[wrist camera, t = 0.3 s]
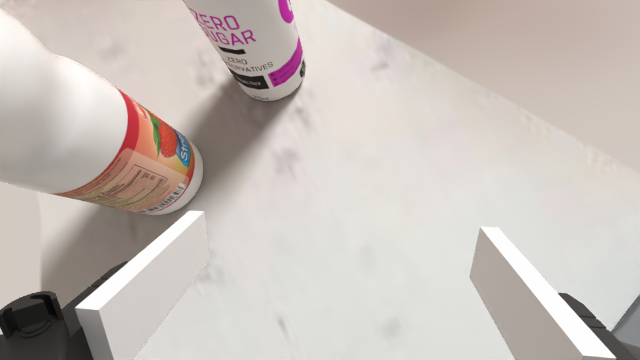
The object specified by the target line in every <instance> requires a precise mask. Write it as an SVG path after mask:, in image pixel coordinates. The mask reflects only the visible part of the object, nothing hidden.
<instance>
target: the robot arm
mask: <svg viewBox="0 0 640 360" xmlns="http://www.w3.org/2000/svg"><path fill="white" fill-rule="evenodd" d="M210 259H211V256H210V249H209V242H208V234H207V227H206V220H205V212H204V211H189V212H187V213H186V214H185V215H184V216H183V217H182V218H180V219H179V220H178V221H177V222H176V223H174V224H173V225H172V226H171V227H170V228H169V229H167V230H166V231H165V232H164V233H163V234H161V235H160V236H159V237H158V238H157V239H155V240H154V241H153V242H152V243H151V244H150V245H148V246H147V247H146V248H145V249H144V250H142V251H141V252H140V253H139V254H138V255H137V256H135V257H134V258H133V259H132V260H131V261H129V262H128V261H125V262H123V263H122V264H120V265H118V266H116V267H114V268H112V269H111V270H109V271H108V272H107V273H106V274H104V275H103V276H102V277H101V278H100V280H99V279H98V280H97V281H96V282H95V283H93V284H92V285H91V287H88V288H87V289H86V290H85V291H83V292H82V293H81V294H80V295H79V296H77V297H76V298H75V299H74V300H72V301H71V302H70V303H69V304H67V305H66V306H65V307H64V308H63V309H61V308H60V305H59V302H58V300H57V297H56V294H55V293H53V292H50V291H42V292H37V293H32V294H29V295H27V296H23V297H21V298H19V299H17V300H15V301H13V302H11V303H9V304H8V305H6V306H5V307H4V308H3V309H1V310H0V328H1V330H2V332H3V335H0V360H133V359H134V358H135V357H136V355H137V354H138V353H139V351H140V350H141V349H142V347H143V346H144V345H145V343H146V342H147V341H148V340H149V338H150V337H151V336H152V334H153V333H154V332H155V330H156V329H157V328H158V327H159V325H160V324H161V323H162V321H163V320H164V319H165V317H166V316H167V315H168V314H169V312H170V311H171V310H172V308H173V307H174V306H175V304H176V303H177V302H178V301H179V299H180V298H181V297H182V295H183V294H184V293H185V291H186V290H187V289H188V288H189V286H190V285H191V284H192V282H193V281H194V280H195V278H196V277H197V276H198V274H199V273H200V272H201V271H202V269H203V268H204V267H205V265H206V264H207V263H208V261H209V260H210ZM470 279H471V281H472V282H473V284H474V286H475V288H476V290H477V291H478V293H479V295H480V297H481V299H482V301H483V302H484V304H485V306H486V308H487V310H488V311H489V313H490V315H491V317H492V319H493V320H494V322H495V324H496V326H497V328H498V329H499V331H500V333H501V335H502V337H503V338H504V340H505V342H506V344H507V346H508V347H509V349H510V351H511V353H512V355H513V356H514V358H515V360H637V359H636V358H635V357H634V356H633V355H632V354H631V353H630V352H629V351H628V350H627V349H626V347H625V346H624V345H623V344H622V343H621V342H620V341H619V340H618V339H617V338H616V337H615V336H614V335H613V334H612V333H611V332H610V331H609V330H606V327H605V326H604V325H603V324H602V323H601V322H600V321H599V320H598V319H596V317H595V316H594V315H593V314H592V313H591V312H590V311H589V310H588V309H587V308H586V307H585V306H584V305H583V304H582V303H580V302H579V301H577V300H576V299H574V298H573V297H571V296H570V295H568V294H566V293H557V292H556V291H555V290H554V289H553V288H552V287H551V286H550V285H549V283H548V282H547V281H546V280H545V279H544V278H543V277H542V276H541V275H540V274H539V272H538V271H537V270H536V269H535V268H534V267H533V266H532V265H531V264H530V263H529V261H528V260H527V259H526V258H525V257H524V256H523V255H522V254H521V253H520V252H519V250H518V249H517V248H516V247H515V246H514V245H513V244H512V243H511V242H510V241H509V239H508V238H507V237H506V236H505V235H504V234H503V233H502V232H501V231H500V230H499V228H493V227H480V230H479V235H478V239H477V244H476V249H475V253H474V258H473V263H472V268H471V272H470Z"/></svg>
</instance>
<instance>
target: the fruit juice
mask: <svg viewBox="0 0 640 360" xmlns="http://www.w3.org/2000/svg"><path fill="white" fill-rule="evenodd" d="M202 178H203V161H202V157H201V155H200V153H199V151H198V149H197V148H196V146H195V145H194V144H193V143H192V142H191V141H190V140H189V139H187V138H186V137H185V136H183V135H182V134H181V133H179V132H178V131H176V130H175V129H174V128H172V127H171V126H169V125H168V124H167V123H165V122H164V121H162V120H161V119H160V118H158V117H157V116H155V115H154V114H153V113H151V112H150V111H148V110H147V109H146V108H144V107H143V106H141V105H140V104H139V103H137V102H136V101H134V100H133V99H131V98H130V97H129V96H127V95H126V94H124V93H123V92H122V91H120V90H119V89H118V88H116V87H115V86H114V85H112V84H111V83H110V82H108V81H107V80H105V79H104V78H103V77H101V76H99V75H98V74H96V73H95V72H93V71H92V70H90V69H88V68H87V67H85V66H83V65H81V64H80V63H78V62H76V61H74V60H71V59H69V58H66V57H63V56H60V55H56V54H52V53H50V52H49V51H48V50H47V49H46V48H45V47H44V46H43V45H42V44H41V43H40V41H39V40H38V39H37V38H36V37H35V36H34V35H33V34H32V33H31V32H30V31H29V30H28V29H27V28H26V27H25V26H24V25H23V24H21V23H20V22H19V21H18V20H17V19H15V18H14V17H13V16H11V15H9V14H8V13H6V12H5V11H3V10H2V9H0V181H2V182H5V183H8V184H11V185H15V186H18V187H22V188H26V189H29V190H33V191H38V192H43V193H48V194H53V195H58V196H63V197H67V198H72V199H77V200H81V201H86V202H91V203H95V204H100V205H105V206H109V207H114V208H119V209H123V210H128V211H133V212H137V213H142V214H147V215H163V214H168V213H171V212H174V211H176V210H178V209H180V208H182V207H183V206H185V205H186V204H187V203H188V202H189V201H190V200H191V199H192V198H193V197H194V195H195V194H196V193H197V191H198V189H199V187H200V185H201V182H202Z"/></svg>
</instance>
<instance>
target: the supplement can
mask: <svg viewBox="0 0 640 360" xmlns="http://www.w3.org/2000/svg"><path fill="white" fill-rule="evenodd" d="M183 1H184V3H185V4H186V6H187V7H188V9H189V10H190V12H191V13H192V15H193V16H194V18H195V19H196V21H197V22H198V24H199V25H200V27H201V28H202V30H203V31H204V33H205V34H206V36H207V37H208V39H209V40H210V42H211V43H212V45H213V46H214V48H215V49H216V51H217V52H218V54H219V55H220V57H221V58H222V60H223V61H224V63H225V64H226V65H227V67H228V68H229V70H230V71H231V73H232V74H233V76H234V77H235V79H236V80H237V82H238V83H239V85H240V86H241V88H242V89H243V91H244V92H245V93H246V94H248V95H249V96H251V97H252V98H254V99H258V100H262V101H271V100H278V99H281V98H283V97H285V96H288V95H289V94H291V93H292V92H293V91H294V90H295V89H296V88H297V87H299V85H300V83H301V81H302V80H303V78H304V76H305V70H306V62H305V58H304V54H303V50H302V46H301V43H300V39H299V35H298V31H297V27H296V23H295V19H294V15H293V12H292V8H291V4H290V0H183Z"/></svg>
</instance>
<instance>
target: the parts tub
mask: <svg viewBox="0 0 640 360" xmlns="http://www.w3.org/2000/svg"><path fill="white" fill-rule="evenodd" d="M611 333H612V334H613V335H614V336H615V337H616V338H617V339H618V340H619V341H620V342H621V343H622V344H623V345H624V346H625V347H626V349H627V350H628V351H629V352H630V353H631V354H632V355H633V356H634V357H635V358H636V359H637V360H640V295H639V296H638V297H637V299H636V300H635V301H634V303H633V304H632V305H631V307H630V308H629V309H628V311H627V312H626V313H625V314H624V316H623V317H622V318H621V320H620V321H619V322H618V324H617V325H616V326H615V327H614V329H613V330H612V331H611Z"/></svg>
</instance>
